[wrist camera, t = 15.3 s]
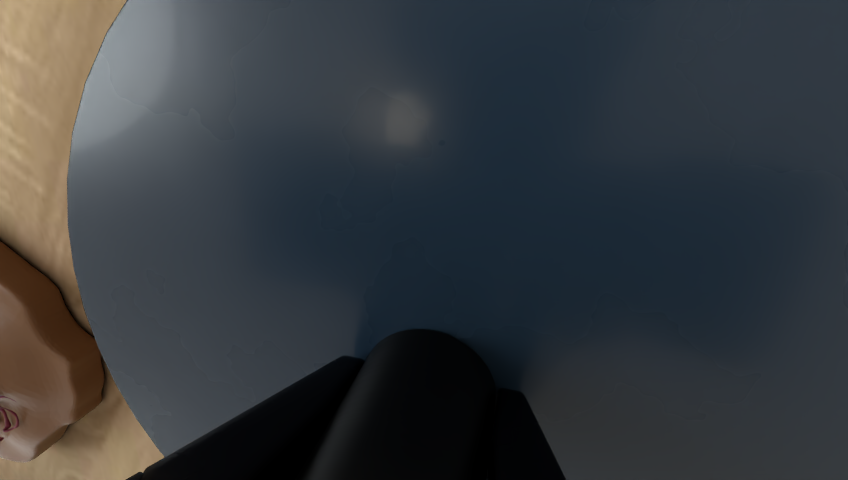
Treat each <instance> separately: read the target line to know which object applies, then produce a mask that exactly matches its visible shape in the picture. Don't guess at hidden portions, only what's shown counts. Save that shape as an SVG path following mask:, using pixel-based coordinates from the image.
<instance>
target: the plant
mask: <svg viewBox="0 0 848 480" xmlns="http://www.w3.org/2000/svg"><path fill="white" fill-rule="evenodd" d="M103 384H104V372H103V368H102V364H101V352H100V350H99V348H98V346H97V343H96V340H95V338H93V337H92V336H90V335H89V334H88V333H86V332H85V331H84V330H83V329H82V328H81V327H80V326H79V325H78V324H77V323H76V322H75V320H74V319H73V317H72V316H71V314H70V313H69V311H68V309H67V308H66V306H65V303H64V301H63V299H62V296H61V293H60V291H59V289H58V288H57V287H56V286H55V285H54V284H53V283H52V281H50V280H49V279H48V278H47V277H46V276H45V275H43V274H42V273H40V272H39V271H38V270H36V269H35V268H34V267H32V266H31V265H30V264H29V263H27V262H26V261H25V260H24V259H22V258H21V257H20V256H19V255H17V254H16V253H15V252H14V251H12V250H11V249H10V248H8V247H7V246H6V245H4V244H3V243H2V242H0V457H1V458H4V459H7V460H10V461H16V462H28V461H31V460H33V459H35V458H36V457H38V456H39V455H40V454H41V453H43V452H44V451H45V450H47V449H48V448H49V447H51V446H52V445H53V444H54V443H56V442H57V441H58V440H59V439H60V438H61V437H62V436H63V434H64V433H65V431H66V428H67V426H68V424H72V423H74V422H76V421H78V420H79V419H81V418H82V417H83V416H85V415H86V414H87V413H89V412H90V411H92V410H93V409H94V408H95V407H97V406H98V405H99V404H100V402H101V401H102V395H101V391H102V387H103Z"/></svg>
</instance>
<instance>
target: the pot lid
mask: <svg viewBox="0 0 848 480" xmlns="http://www.w3.org/2000/svg"><path fill="white" fill-rule="evenodd" d="M67 202H68V230H69V237H70V244H71V251H72V259H73V266H74V271H75V275H76V279H77V283H78V287H79V291H80V295H81V299H82V303H83V306H84V310H85V313H86V316H87V318H88V321H89V324H90V326H91V329H92V332H93V335H94V337H95V340H96V343H97V346H98V348H99V350H100V352H101V354H102V357H103V359H104V361H105V363H106V365H107V367H108V369H109V371H110V373H111V375H112V377H113V379H114V381H115V384H116V385H117V387H118V389H119V390H120V392H121V394H122V395H123V397H124V399H125V400H126V402H127V404H128V405H129V407H130V409H131V411H132V412H133V414H134V416H135V417H136V419H137V420H138V422H139V423H140V424H141V426H142V427H143V429H144V430H145V431H146V433H147V434H148V435H149V437H150V438H151V440H152V441H153V442H154V444H155V445H156V447H157V448H158V449H159V451H160V452H161V453H162V454H163V455H164V457H166V456H168V455H170V454H172V453H173V452H175V451H177V450H179V449H180V448H182V447H184V446H186V445H187V444H189V443H191V442H193V441H194V440H196V439H198V438H200V437H201V436H203V435H205V434H206V433H208V432H210V431H212V430H213V429H215V428H217V427H219V426H220V425H222V424H224V423H226V422H227V421H229V420H231V419H233V418H234V417H236V416H238V415H240V414H241V413H243V412H245V411H246V410H248V409H250V408H252V407H253V406H255V405H257V404H259V403H260V402H262V401H264V400H266V399H267V398H269V397H271V396H273V395H274V394H276V393H278V392H280V391H281V390H283V389H285V388H286V387H288V386H290V385H292V384H293V383H295V382H297V381H299V380H300V379H302V378H304V377H306V376H307V375H309V374H311V373H313V372H314V371H316V370H318V369H320V368H321V367H323V366H325V365H326V364H328V363H330V362H332V361H333V360H335V359H337V358H339V357H341V356H343V355H348V356H352V357H357V358H362V359H363V360H364V361H365V362H364V364H363V366H362V367H361V369H360V371H359V373H358V374H357V376H356V378H355V379H354V381H353V383H352V384H351V386H350V388H349V389H348V391H347V393H346V394H345V396H344V398H343V399H342V401H341V403H340V404H339V406H338V408H337V409H336V411H335V413H334V415H333V416H332V418H331V420H330V421H329V423H328V425H327V426H326V428H325V430H324V431H323V433H322V435H321V436H320V438H319V440H318V441H317V443H316V445H315V446H314V448H313V450H312V451H311V453H310V455H309V457H308V458H307V460H306V462H305V463H304V465H303V467H302V468H301V470H300V472H299V473H298V475H297V477H296V478H295V480H487V472H488V464H489V456H490V447H491V439H492V431H493V423H494V415H495V408H496V401H497V394H498V390H499V389H500V388H507V389H512V390H517V391H521V392H522V393H524V395H525V397H526V399H527V401H528V403H529V405H530V407H531V409H532V411H533V413H534V415H535V417H536V419H537V421H538V423H539V425H540V427H541V429H542V431H543V433H544V435H545V437H546V439H547V441H548V443H549V445H550V447H551V450H552V452H553V454H554V456H555V458H556V460H557V462H558V464H559V466H560V468H561V470H562V472H563V474H564V476H565V478H566V480H848V0H127V1H126V3H125V4H124V6H123V8H122V9H121V11H120V12H119V14H118V16H117V17H116V19H115V20H114V22H113V23H112V25H111V27H110V28H109V30H108V31H107V33H106V35H105V38H104V40H103V42H102V45H101V47H100V49H99V52H98V54H97V57H96V59H95V61H94V64H93V66H92V68H91V71H90V73H89V75H88V78H87V80H86V82H85V86H84V90H83V94H82V97H81V101H80V105H79V109H78V113H77V117H76V121H75V124H74V128H73V133H72V141H71V150H70V159H69V167H68V176H67Z"/></svg>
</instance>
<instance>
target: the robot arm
mask: <svg viewBox="0 0 848 480" xmlns="http://www.w3.org/2000/svg"><path fill="white" fill-rule="evenodd" d="M364 362H365V361H364V360H363V359H362V358H357V357H352V356H348V355H343V356H341V357H339V358H337V359H335V360H333V361H332V362H330V363H328V364H326V365H325V366H323V367H321V368H320V369H318V370H316V371H314V372H313V373H311V374H309V375H307V376H306V377H304V378H302V379H300V380H299V381H297V382H295V383H293V384H292V385H290V386H288V387H286V388H285V389H283V390H281V391H280V392H278V393H276V394H274V395H273V396H271V397H269V398H267V399H266V400H264V401H262V402H260V403H259V404H257V405H255V406H253V407H252V408H250V409H248V410H246V411H245V412H243V413H241V414H240V415H238V416H236V417H234V418H233V419H231V420H229V421H227V422H226V423H224V424H222V425H220V426H219V427H217V428H215V429H213V430H212V431H210V432H208V433H206V434H205V435H203V436H201V437H200V438H198V439H196V440H194V441H193V442H191V443H189V444H187V445H186V446H184V447H182V448H180V449H179V450H177V451H175V452H173V453H172V454H170V455H168V456H166V457H165V458H163V459H161V460H160V461H158V462H156V463H154V464H153V465H151V466H149V467H147V468H146V469H145V471H144V473H142V472H138V473H137V474H135V475H133V476H131V477H130V478H128V479H126V480H295V478H296V477H297V475H298V473H299V472H300V470H301V468H302V467H303V465H304V463H305V462H306V460H307V458H308V457H309V455H310V453H311V451H312V450H313V448H314V446H315V445H316V443H317V441H318V440H319V438H320V436H321V435H322V433H323V431H324V430H325V428H326V426H327V425H328V423H329V421H330V420H331V418H332V416H333V415H334V413H335V411H336V409H337V408H338V406H339V404H340V403H341V401H342V399H343V398H344V396H345V394H346V393H347V391H348V389H349V388H350V386H351V384H352V383H353V381H354V379H355V378H356V376H357V374H358V373H359V371H360V369H361V367H362V366H363V364H364ZM487 480H566V478H565V476H564V474H563V472H562V470H561V468H560V466H559V464H558V462H557V460H556V458H555V456H554V454H553V452H552V450H551V447H550V445H549V443H548V441H547V439H546V437H545V435H544V433H543V431H542V429H541V427H540V425H539V423H538V421H537V419H536V417H535V415H534V413H533V411H532V409H531V407H530V405H529V403H528V401H527V399H526V397H525V395H524V393H522V392H521V391H517V390H512V389H507V388H500V389H499V390H498V394H497V401H496V408H495V415H494V423H493V431H492V439H491V447H490V456H489V464H488V472H487Z"/></svg>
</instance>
